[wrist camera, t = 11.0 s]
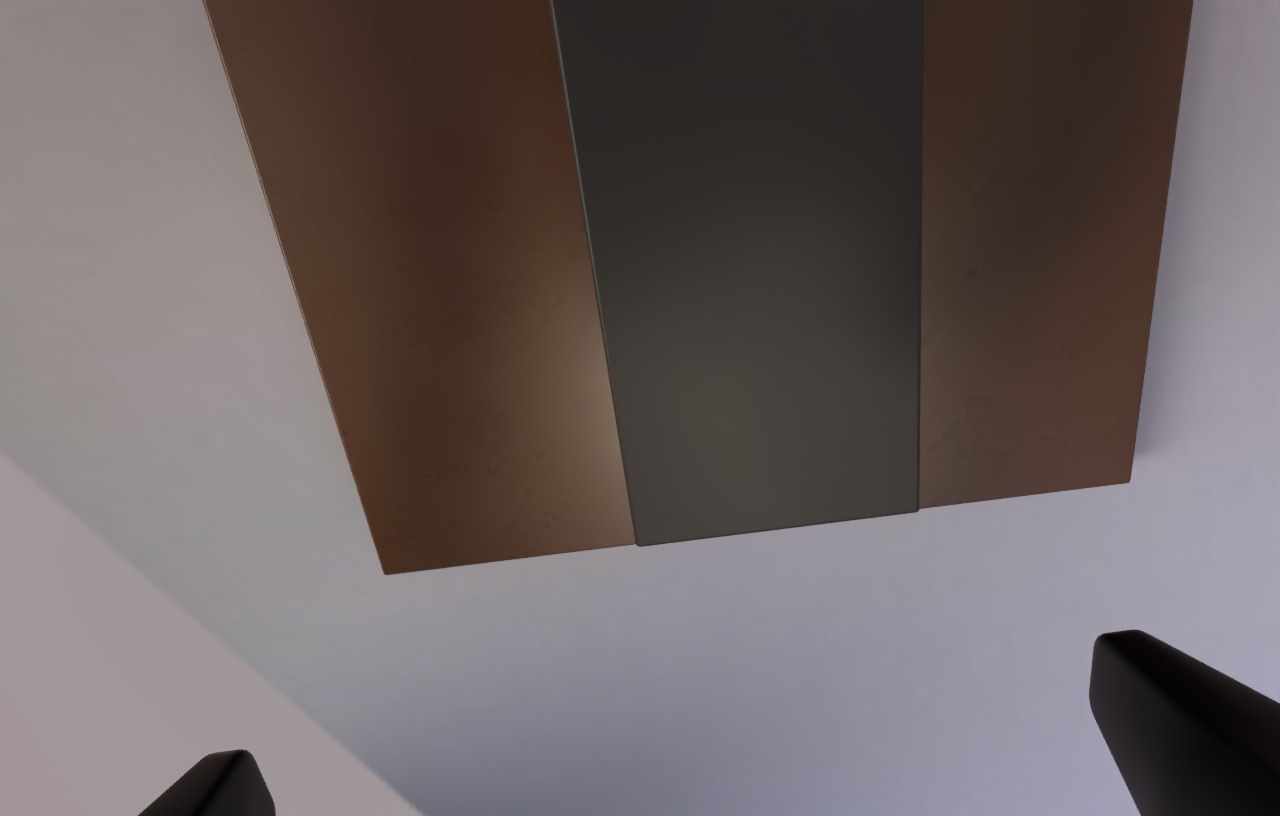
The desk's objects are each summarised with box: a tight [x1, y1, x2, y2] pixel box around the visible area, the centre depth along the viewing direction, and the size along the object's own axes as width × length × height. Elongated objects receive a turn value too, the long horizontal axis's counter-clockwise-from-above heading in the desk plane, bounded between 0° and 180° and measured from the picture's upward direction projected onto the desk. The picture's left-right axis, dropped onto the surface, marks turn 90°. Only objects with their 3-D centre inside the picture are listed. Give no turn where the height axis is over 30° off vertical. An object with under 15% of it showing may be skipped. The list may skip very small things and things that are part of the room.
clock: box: [548, 0, 924, 547], centre depth 14 cm, size 12×5×6 cm, turn 8°
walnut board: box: [203, 0, 1193, 575], centre depth 17 cm, size 18×20×1 cm
